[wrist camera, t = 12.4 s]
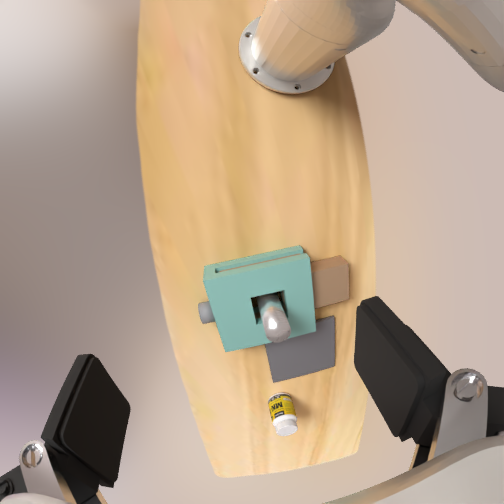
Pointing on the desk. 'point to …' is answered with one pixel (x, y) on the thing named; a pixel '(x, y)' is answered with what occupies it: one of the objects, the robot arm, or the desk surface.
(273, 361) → the rubber mat
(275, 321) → the steel pin
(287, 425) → the supplement bottle
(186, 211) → the desk surface
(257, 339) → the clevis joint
